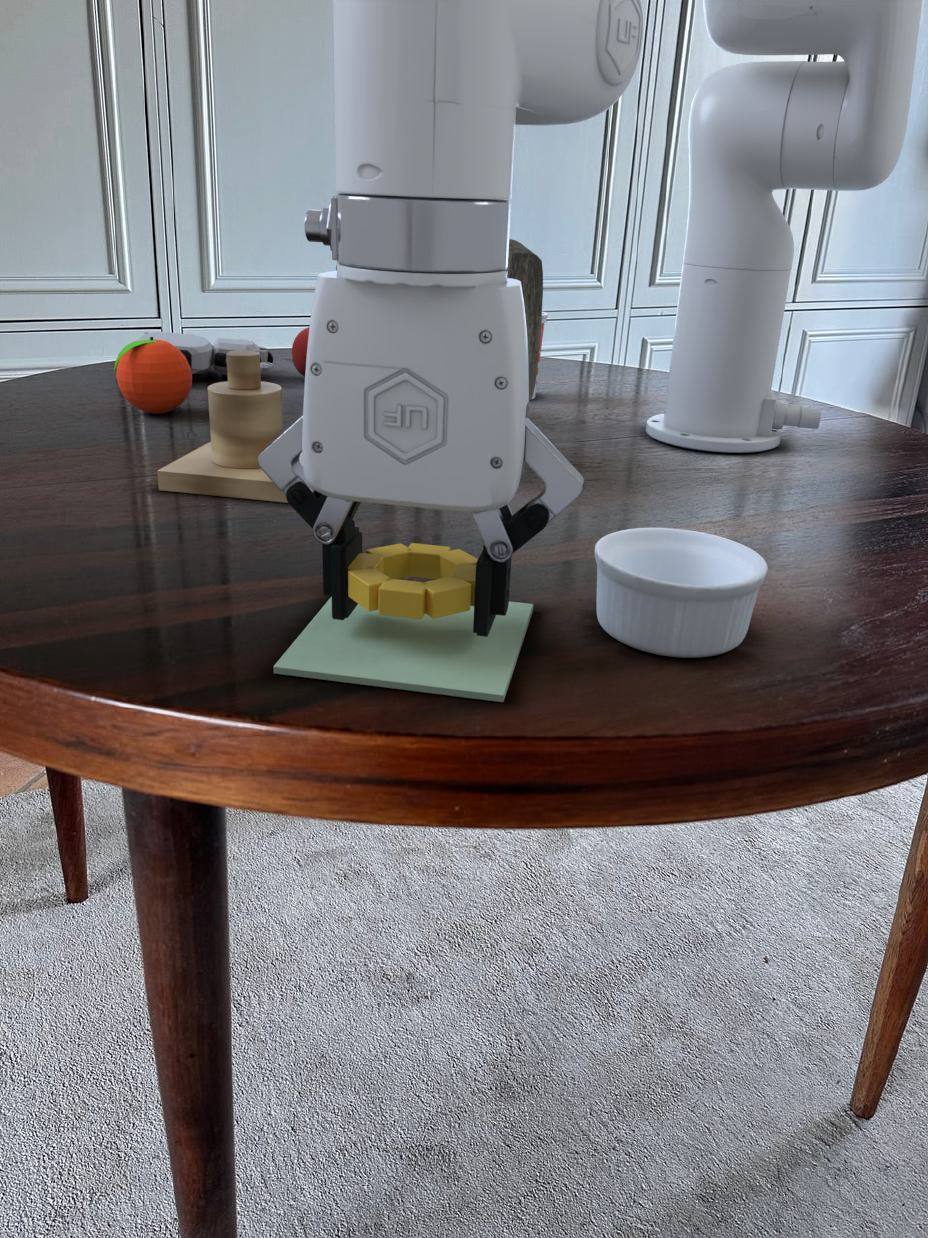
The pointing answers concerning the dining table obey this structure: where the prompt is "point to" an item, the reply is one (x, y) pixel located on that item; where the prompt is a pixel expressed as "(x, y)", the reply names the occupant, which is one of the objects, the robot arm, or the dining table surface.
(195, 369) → the robot toy
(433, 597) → the ring
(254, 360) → the stand
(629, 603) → the ramekin
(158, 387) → the clementine
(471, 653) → the mat
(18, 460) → the dining table surface
